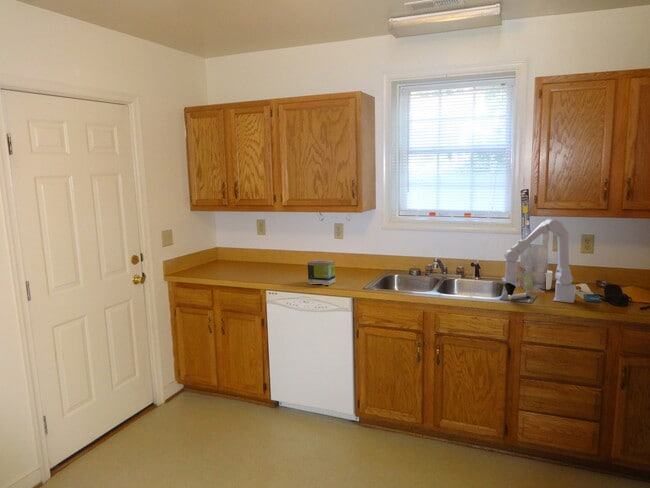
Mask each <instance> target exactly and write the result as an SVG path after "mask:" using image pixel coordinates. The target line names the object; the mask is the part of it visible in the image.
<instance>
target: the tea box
mask: <svg viewBox="0 0 650 488" xmlns="http://www.w3.org/2000/svg"><path fill="white" fill-rule="evenodd" d="M307 276H308V277H307V279H308V284H309V283H318V284H328V285H329V284H331V283H333V282H335V283H336V265H335V260H325V259H320V260H319V259H313V260H311V261H308V262H307Z"/></svg>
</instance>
